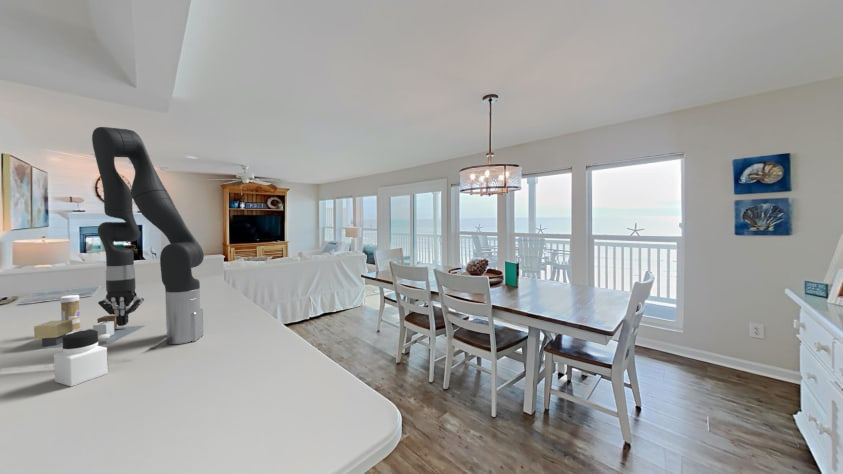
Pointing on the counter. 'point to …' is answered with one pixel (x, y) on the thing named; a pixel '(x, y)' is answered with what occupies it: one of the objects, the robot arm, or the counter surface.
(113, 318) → the walnut fader
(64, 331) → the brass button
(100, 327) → the grey fader
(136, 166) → the robot arm
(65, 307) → the sprinkles bottle
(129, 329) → the board
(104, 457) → the counter surface
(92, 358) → the medicine bottle
